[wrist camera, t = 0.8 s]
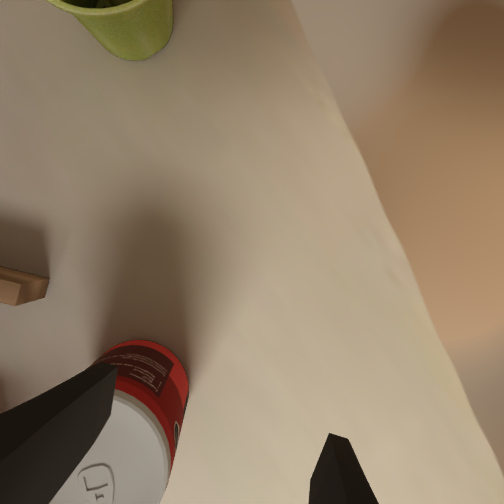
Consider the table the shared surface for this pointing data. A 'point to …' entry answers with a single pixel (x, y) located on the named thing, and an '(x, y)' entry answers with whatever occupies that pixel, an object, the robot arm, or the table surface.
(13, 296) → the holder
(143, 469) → the canned food
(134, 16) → the plant pot
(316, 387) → the table surface
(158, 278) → the table surface
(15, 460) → the robot arm
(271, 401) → the table surface
